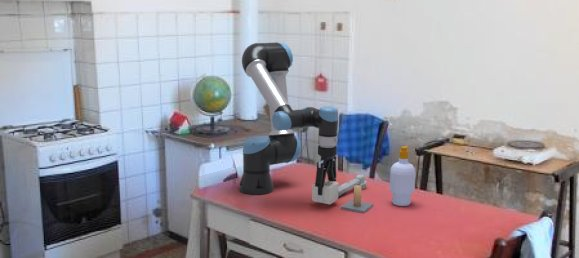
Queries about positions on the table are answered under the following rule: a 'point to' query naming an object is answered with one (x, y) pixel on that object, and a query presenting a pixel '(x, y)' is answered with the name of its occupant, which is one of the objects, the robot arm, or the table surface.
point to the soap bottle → (402, 179)
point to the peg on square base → (357, 202)
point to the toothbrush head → (352, 184)
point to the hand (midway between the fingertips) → (325, 199)
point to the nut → (327, 192)
